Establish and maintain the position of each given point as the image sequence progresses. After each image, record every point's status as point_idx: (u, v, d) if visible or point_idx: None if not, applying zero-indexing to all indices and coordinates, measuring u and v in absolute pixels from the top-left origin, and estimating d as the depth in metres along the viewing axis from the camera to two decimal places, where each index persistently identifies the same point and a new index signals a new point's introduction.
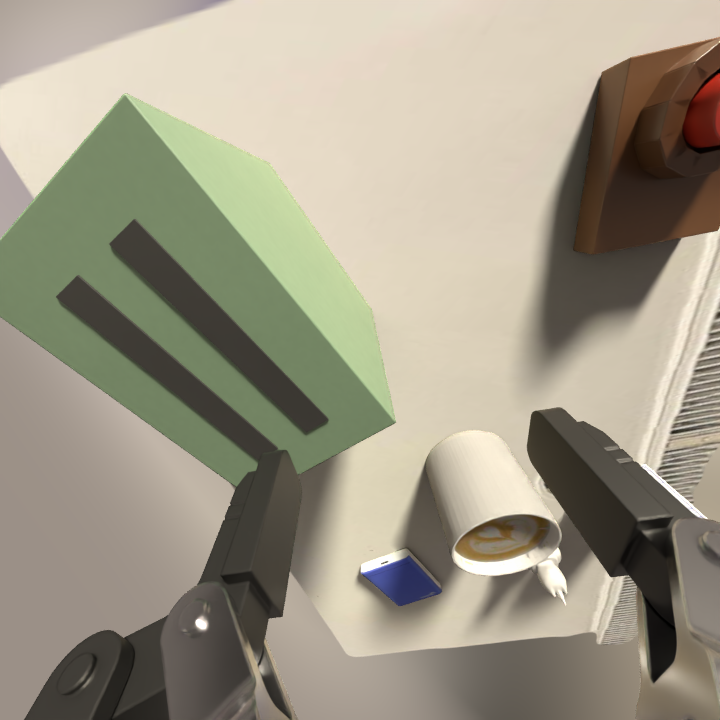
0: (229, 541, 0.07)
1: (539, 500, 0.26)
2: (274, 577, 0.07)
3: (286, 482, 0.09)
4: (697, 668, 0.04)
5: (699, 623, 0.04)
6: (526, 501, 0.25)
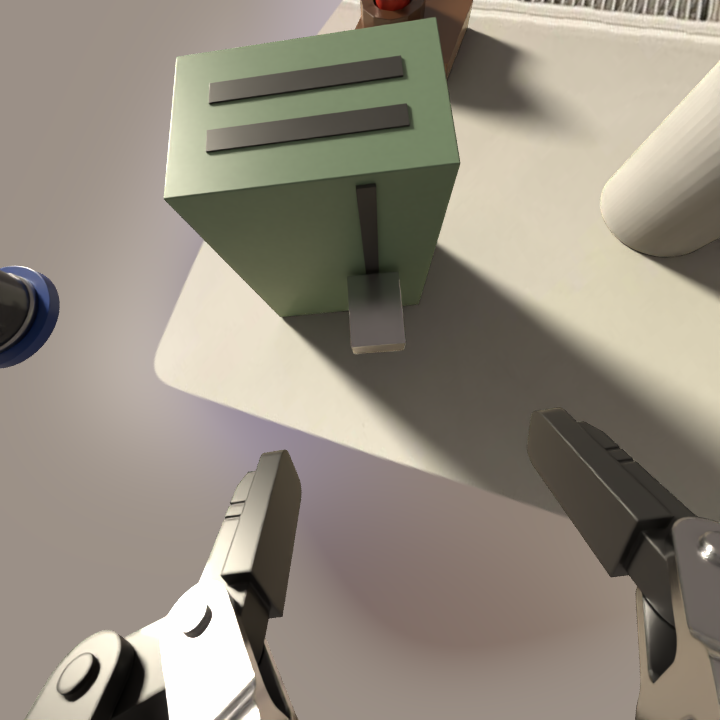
0: (229, 541, 0.07)
1: None
2: (274, 577, 0.07)
3: (286, 482, 0.09)
4: (697, 668, 0.04)
5: (699, 623, 0.04)
6: None
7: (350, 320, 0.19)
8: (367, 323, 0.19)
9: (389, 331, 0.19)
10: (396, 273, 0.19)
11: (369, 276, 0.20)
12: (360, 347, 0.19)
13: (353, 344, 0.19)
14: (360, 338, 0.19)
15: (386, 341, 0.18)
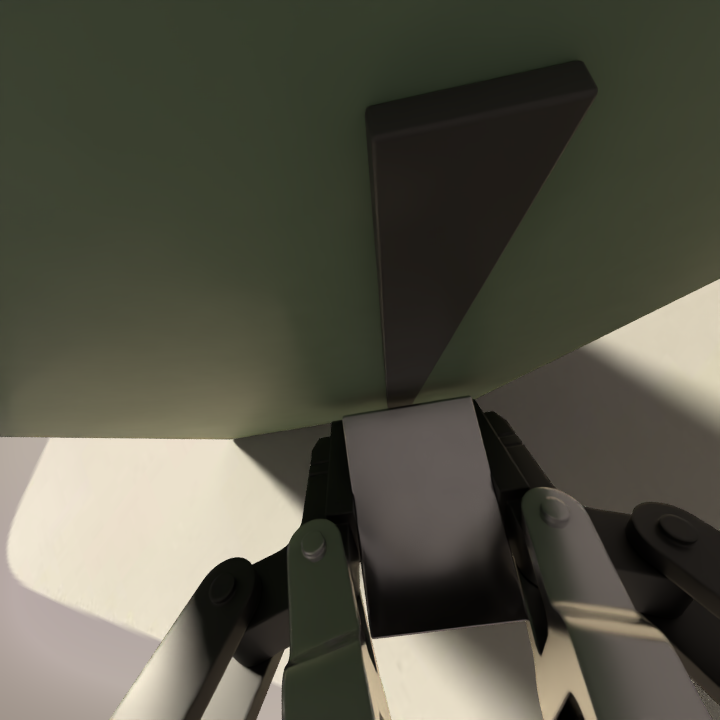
0: (319, 492, 0.08)
1: None
2: None
3: None
4: (563, 640, 0.04)
5: (555, 591, 0.05)
6: None
7: (362, 548, 0.07)
8: (409, 558, 0.07)
9: (475, 583, 0.07)
10: (467, 402, 0.08)
11: (398, 414, 0.08)
12: None
13: (378, 629, 0.07)
14: (395, 608, 0.07)
15: (472, 618, 0.06)
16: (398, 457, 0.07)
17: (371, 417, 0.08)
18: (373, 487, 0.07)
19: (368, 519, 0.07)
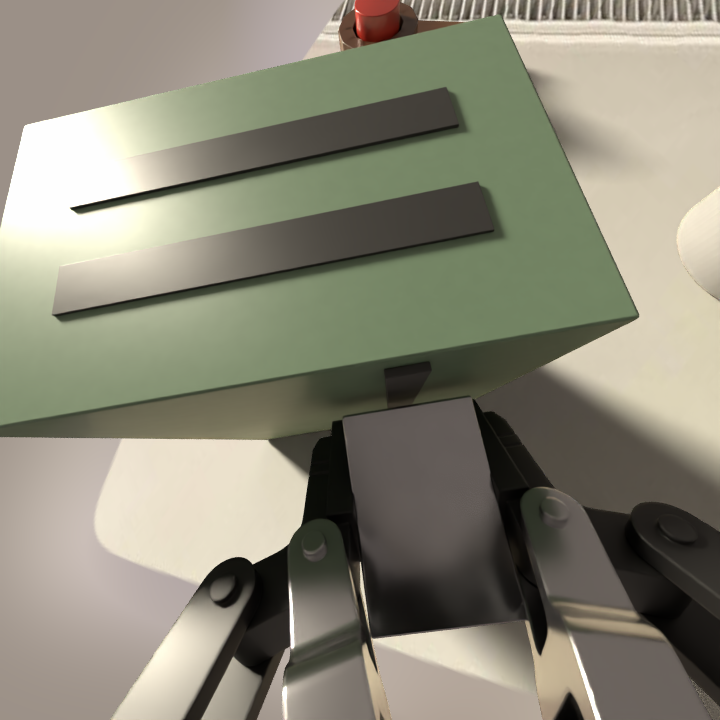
0: (320, 492, 0.08)
1: None
2: None
3: None
4: (562, 640, 0.04)
5: (554, 591, 0.05)
6: None
7: (362, 547, 0.07)
8: (409, 558, 0.07)
9: (475, 583, 0.07)
10: (467, 402, 0.08)
11: (398, 414, 0.08)
12: None
13: (378, 629, 0.07)
14: (395, 608, 0.07)
15: (472, 618, 0.06)
16: (398, 457, 0.07)
17: (371, 417, 0.08)
18: (373, 487, 0.07)
19: (368, 519, 0.07)
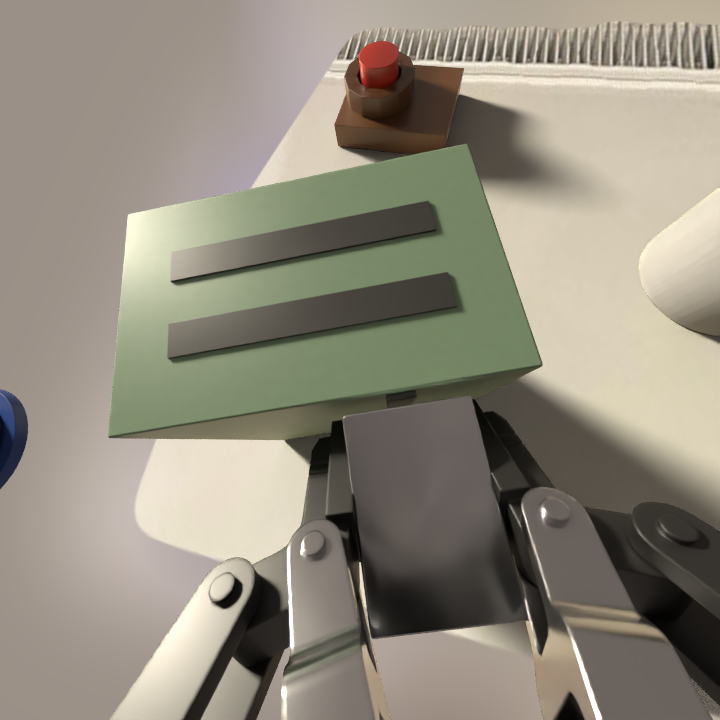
0: (319, 493, 0.08)
1: None
2: None
3: None
4: (563, 640, 0.04)
5: (555, 591, 0.05)
6: None
7: (362, 548, 0.07)
8: (409, 558, 0.07)
9: (475, 583, 0.07)
10: (467, 402, 0.08)
11: (398, 414, 0.08)
12: None
13: (378, 629, 0.07)
14: (395, 608, 0.07)
15: (472, 618, 0.06)
16: (398, 457, 0.07)
17: (371, 417, 0.08)
18: (373, 487, 0.07)
19: (368, 519, 0.07)
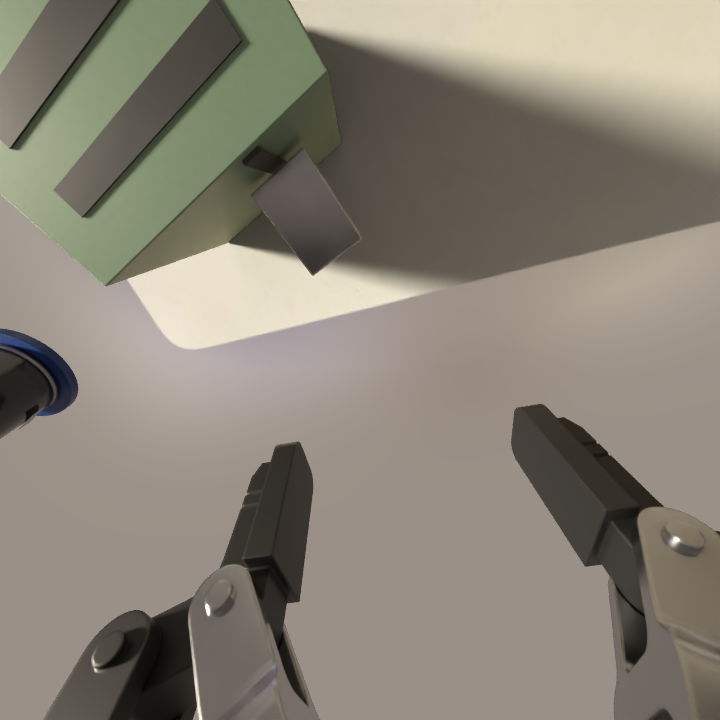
0: (247, 528, 0.07)
1: None
2: (291, 563, 0.07)
3: (300, 473, 0.09)
4: (666, 657, 0.04)
5: (666, 611, 0.04)
6: None
7: (292, 248, 0.16)
8: (311, 241, 0.16)
9: (338, 236, 0.16)
10: (302, 153, 0.14)
11: (274, 179, 0.15)
12: None
13: (312, 271, 0.17)
14: (315, 261, 0.17)
15: (342, 249, 0.16)
16: (286, 201, 0.15)
17: (263, 188, 0.15)
18: (283, 221, 0.15)
19: (288, 236, 0.16)
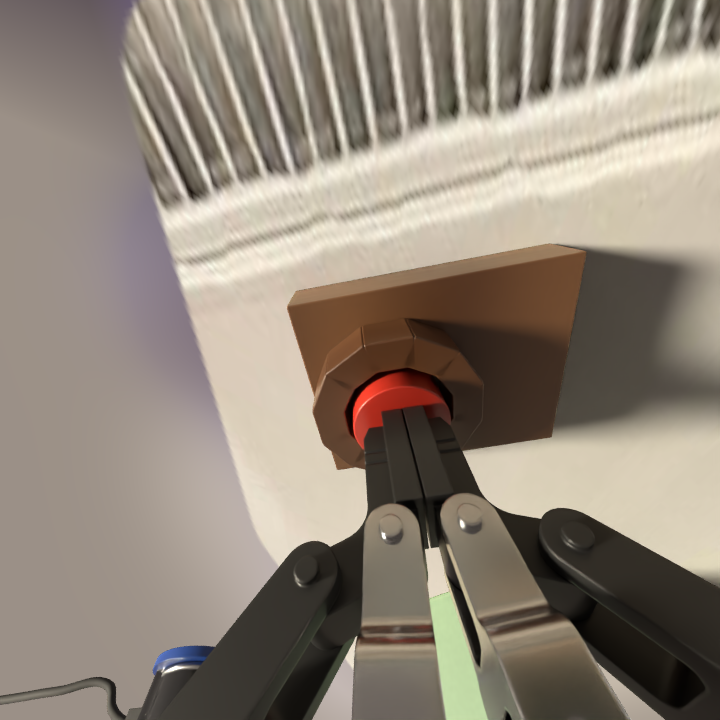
0: (380, 480, 0.08)
1: None
2: None
3: None
4: (493, 657, 0.04)
5: (480, 604, 0.05)
6: None
7: None
8: None
9: None
10: None
11: None
12: None
13: None
14: None
15: None
16: None
17: None
18: None
19: None
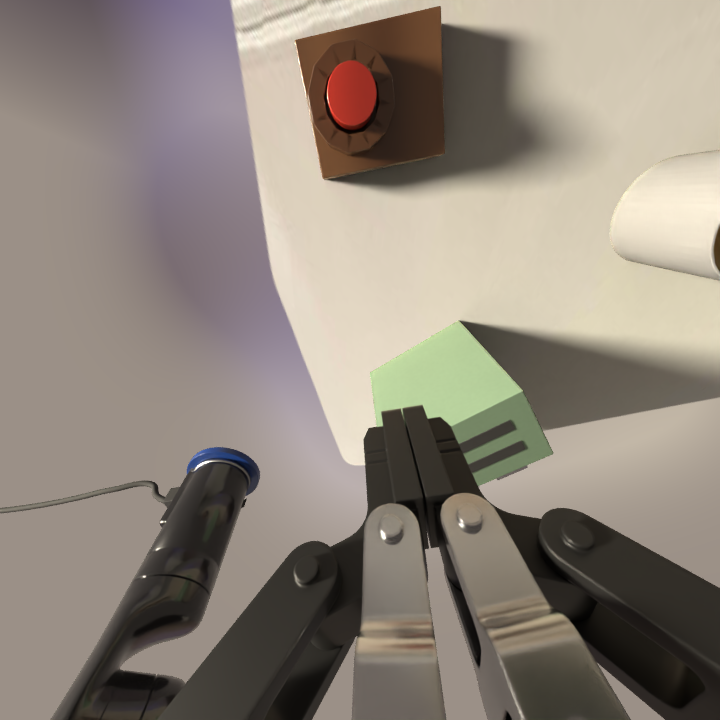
0: (380, 480, 0.08)
1: None
2: None
3: None
4: (492, 657, 0.04)
5: (480, 604, 0.05)
6: (715, 199, 0.22)
7: None
8: None
9: None
10: None
11: None
12: None
13: (498, 478, 0.33)
14: None
15: (517, 471, 0.32)
16: None
17: None
18: None
19: None
